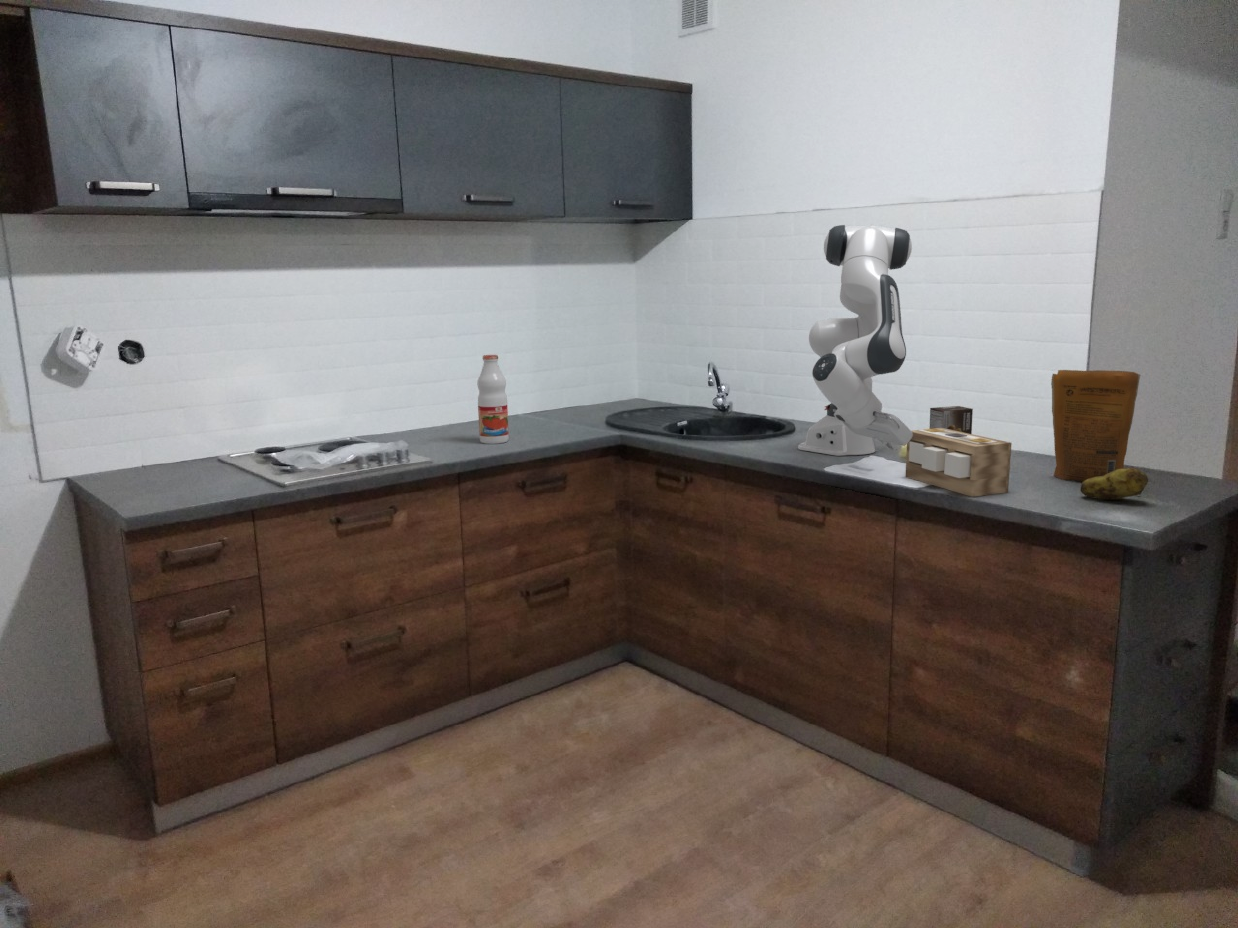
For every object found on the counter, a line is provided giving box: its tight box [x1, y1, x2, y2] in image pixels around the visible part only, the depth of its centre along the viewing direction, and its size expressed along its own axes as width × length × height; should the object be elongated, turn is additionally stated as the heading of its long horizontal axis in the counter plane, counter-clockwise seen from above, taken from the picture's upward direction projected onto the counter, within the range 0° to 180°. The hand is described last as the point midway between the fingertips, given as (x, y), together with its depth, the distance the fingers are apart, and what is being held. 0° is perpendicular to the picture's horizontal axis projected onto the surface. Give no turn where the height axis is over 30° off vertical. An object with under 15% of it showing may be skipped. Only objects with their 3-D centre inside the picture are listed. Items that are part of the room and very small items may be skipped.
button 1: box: [909, 441, 925, 464], centre depth 233 cm, size 9×5×5 cm, turn 112°
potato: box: [1080, 467, 1149, 501], centre depth 208 cm, size 8×13×8 cm, turn 37°
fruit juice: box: [477, 354, 510, 445], centre depth 294 cm, size 9×9×28 cm
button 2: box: [944, 452, 972, 478], centre depth 217 cm, size 9×5×5 cm, turn 112°
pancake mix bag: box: [1050, 369, 1141, 483], centre depth 224 cm, size 7×19×28 cm, turn 47°
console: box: [904, 428, 1013, 498], centre depth 226 cm, size 11×24×12 cm, turn 22°
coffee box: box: [928, 405, 974, 434], centre depth 246 cm, size 9×6×16 cm
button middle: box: [922, 446, 948, 472], centre depth 224 cm, size 9×5×5 cm, turn 112°
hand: (894, 447), depth 221 cm, fingers closed
